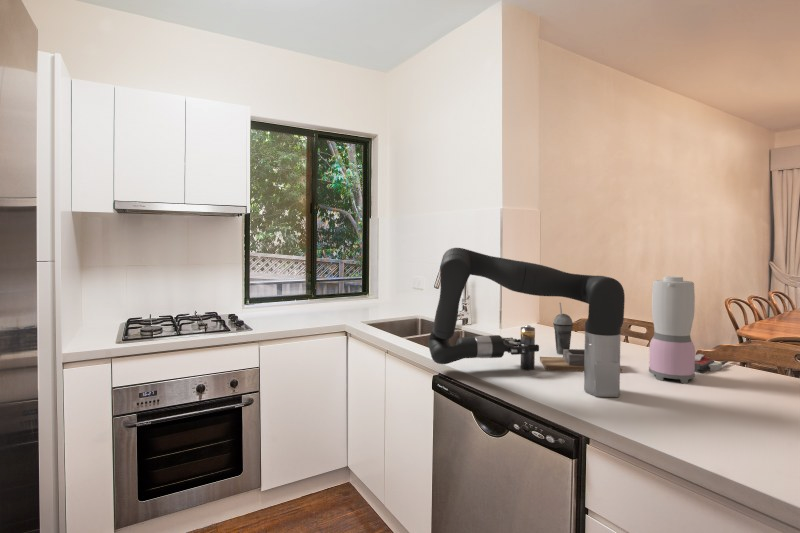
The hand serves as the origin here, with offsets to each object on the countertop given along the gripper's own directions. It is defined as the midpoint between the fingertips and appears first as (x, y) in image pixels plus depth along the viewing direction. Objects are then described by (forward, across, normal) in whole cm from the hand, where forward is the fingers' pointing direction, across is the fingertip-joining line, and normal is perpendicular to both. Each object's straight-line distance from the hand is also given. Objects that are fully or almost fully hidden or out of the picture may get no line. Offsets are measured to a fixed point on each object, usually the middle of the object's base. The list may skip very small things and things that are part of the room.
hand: (532, 345), depth 144 cm
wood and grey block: (+16, -1, +8) cm, 18 cm away
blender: (+40, -15, +8) cm, 43 cm away
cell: (-2, 0, +8) cm, 8 cm away
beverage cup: (+20, +17, +8) cm, 28 cm away
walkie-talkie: (+58, -8, +9) cm, 60 cm away
